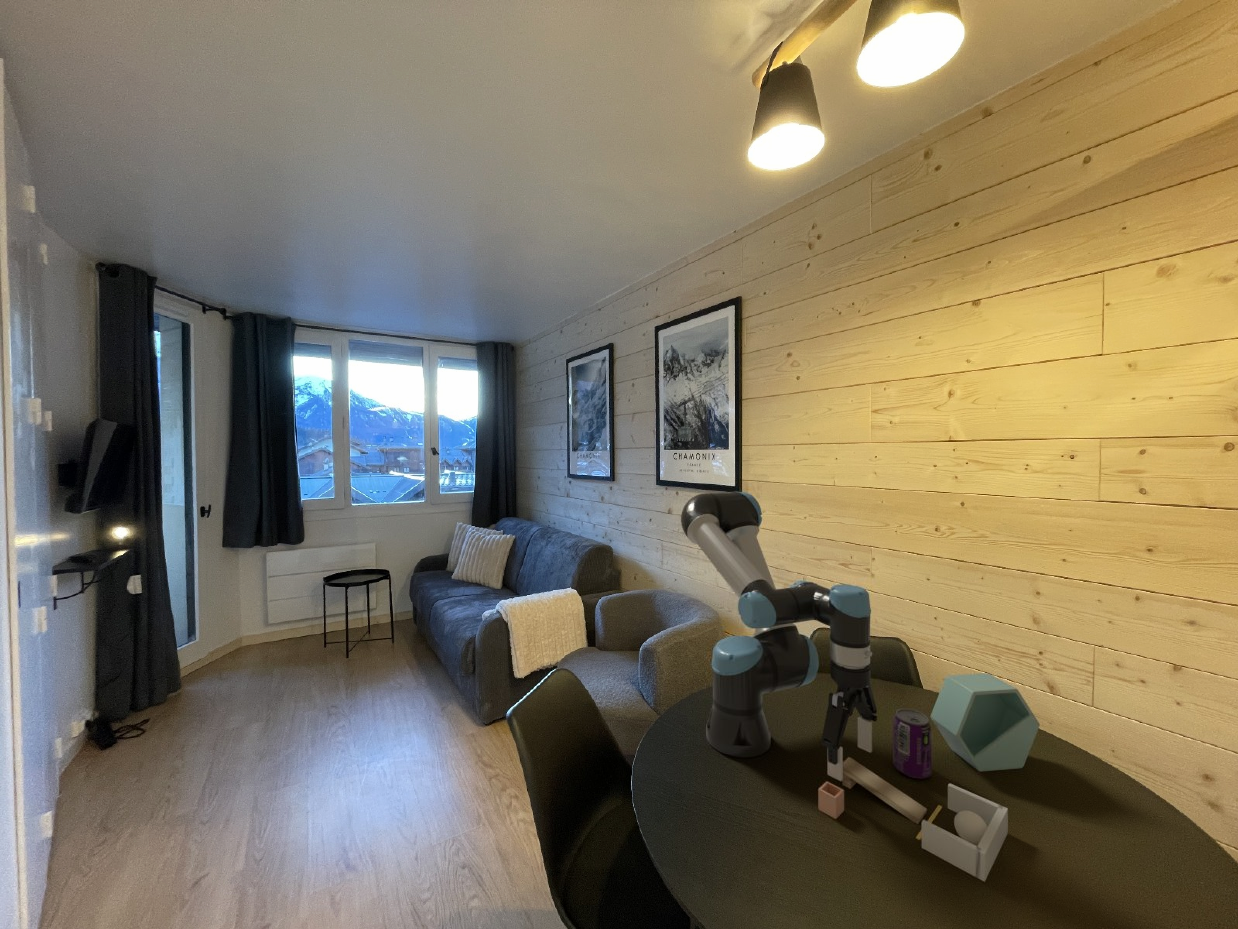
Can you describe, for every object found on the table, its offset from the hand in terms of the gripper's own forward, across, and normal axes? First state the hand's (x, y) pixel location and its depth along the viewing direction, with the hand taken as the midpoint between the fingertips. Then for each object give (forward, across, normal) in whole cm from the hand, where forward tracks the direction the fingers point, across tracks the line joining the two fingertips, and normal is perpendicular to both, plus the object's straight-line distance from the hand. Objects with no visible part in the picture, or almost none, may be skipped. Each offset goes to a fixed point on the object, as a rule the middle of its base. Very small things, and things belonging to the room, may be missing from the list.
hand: (850, 762), depth 101 cm
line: (+4, 0, -14) cm, 15 cm away
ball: (+2, 0, -21) cm, 21 cm away
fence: (+4, 0, -20) cm, 21 cm away
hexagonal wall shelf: (+4, +30, -16) cm, 34 cm away
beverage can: (+4, +14, -7) cm, 16 cm away
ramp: (+4, 0, -6) cm, 7 cm away
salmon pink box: (+4, -10, -1) cm, 11 cm away
